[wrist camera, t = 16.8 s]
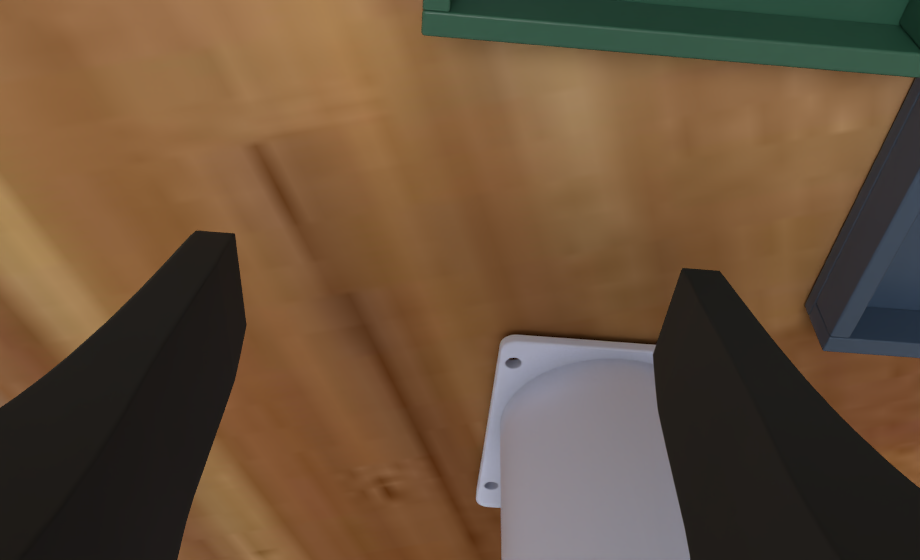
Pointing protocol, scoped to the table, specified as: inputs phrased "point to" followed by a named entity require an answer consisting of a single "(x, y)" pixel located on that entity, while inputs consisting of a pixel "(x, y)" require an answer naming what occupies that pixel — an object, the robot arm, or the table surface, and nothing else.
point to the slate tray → (877, 255)
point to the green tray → (702, 29)
